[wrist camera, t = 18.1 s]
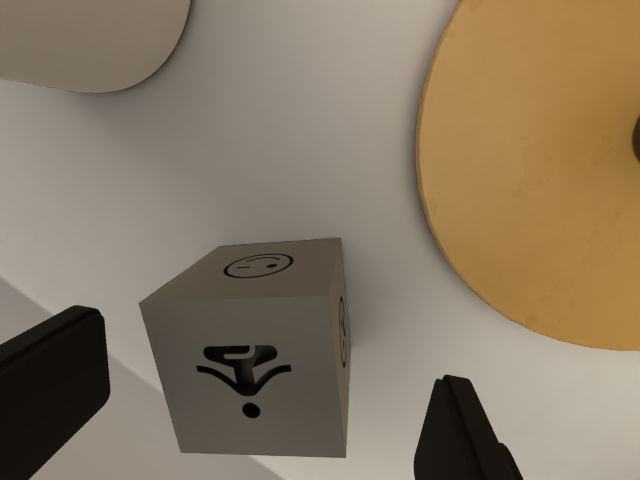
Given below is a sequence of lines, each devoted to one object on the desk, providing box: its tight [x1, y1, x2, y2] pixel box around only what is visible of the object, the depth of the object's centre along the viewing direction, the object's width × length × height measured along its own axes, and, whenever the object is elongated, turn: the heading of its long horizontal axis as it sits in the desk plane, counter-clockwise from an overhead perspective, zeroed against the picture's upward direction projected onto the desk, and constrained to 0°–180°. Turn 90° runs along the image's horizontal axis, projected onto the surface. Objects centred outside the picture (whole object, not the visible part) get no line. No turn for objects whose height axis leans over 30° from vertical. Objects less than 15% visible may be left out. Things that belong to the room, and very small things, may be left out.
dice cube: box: [139, 238, 351, 458], centre depth 11 cm, size 5×5×5 cm
